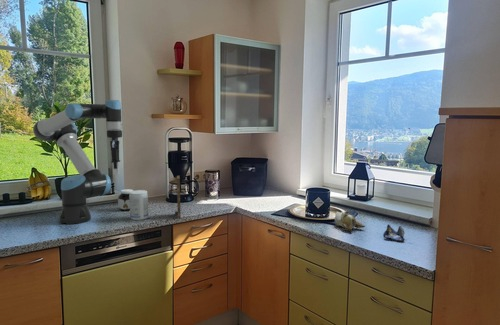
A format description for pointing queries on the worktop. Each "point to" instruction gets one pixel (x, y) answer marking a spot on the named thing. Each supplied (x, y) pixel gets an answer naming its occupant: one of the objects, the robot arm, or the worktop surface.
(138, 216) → the supplement tub
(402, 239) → the twin peaked rock
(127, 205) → the spread jar
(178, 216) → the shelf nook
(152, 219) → the worktop surface
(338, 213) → the ceramic sculpture
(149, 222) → the worktop surface
